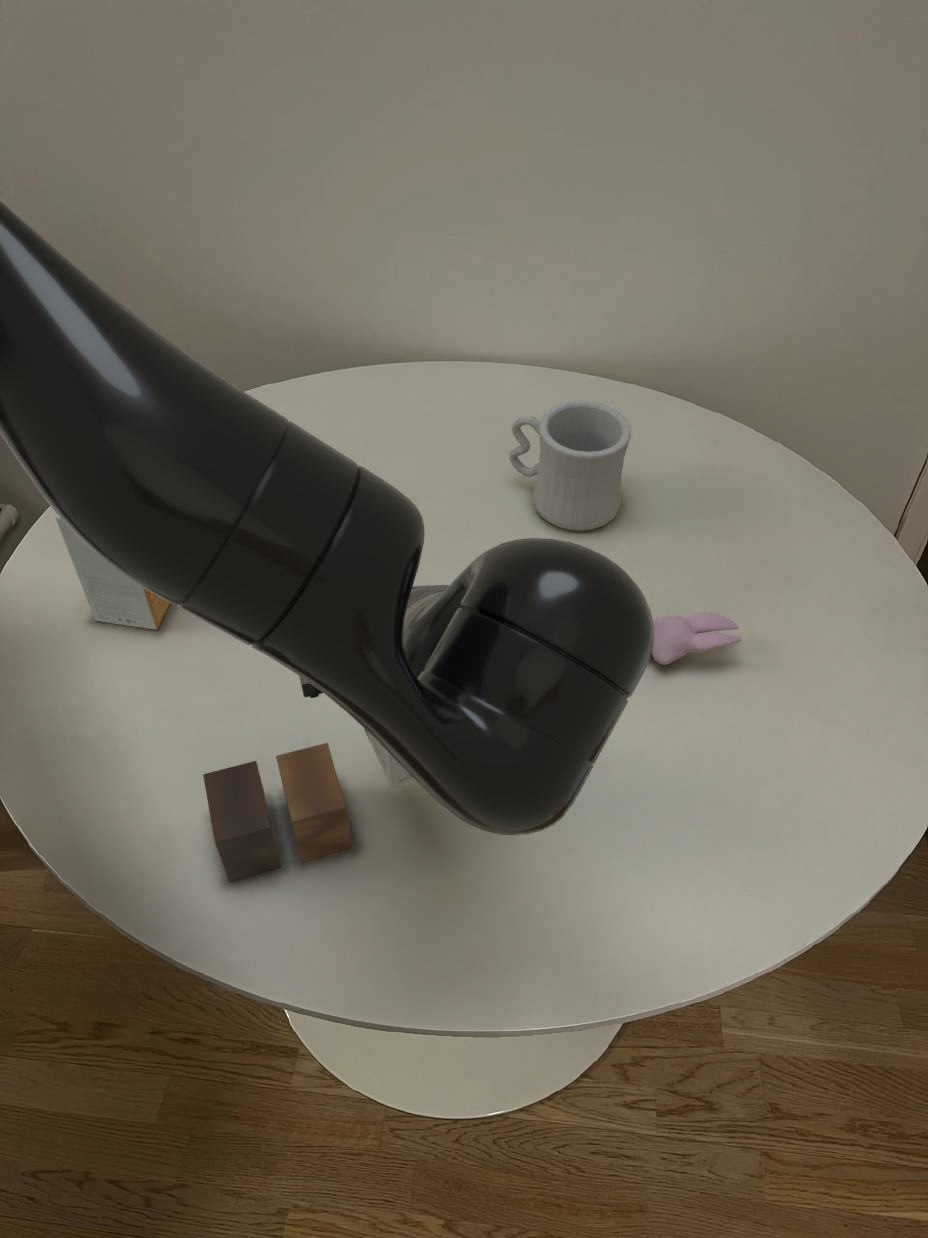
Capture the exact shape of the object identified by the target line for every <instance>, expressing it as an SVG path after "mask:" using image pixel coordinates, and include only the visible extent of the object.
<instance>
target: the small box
mask: <svg viewBox="0 0 928 1238" xmlns="http://www.w3.org/2000/svg"><path fill="white" fill-rule="evenodd" d="M55 520H56V523H57V526H58V528H59V531H60V533H61V536H62V539H63V541H64V544H65V546H66V549H67V551H68V555H69V556H70V559H71V561H72V564H73V567H74V569H75V572H76V575H77V578H78V579H79V582H80V585H81V588H82V590H83V593H84V596H85V598H86V601H87V603H88V605H89V609H90V611H91V614H92V616H93V619H94V621H96V622H100V623H101V622H102V623H107V624H114V625H120V626H128V627H135V628H142V629H148V630H159V628H160V625H161V623H162V620H163V618H164V616H165V614H166V612H167V611H168V609H169V607H170V605H171V603H170V602H168V601H166V600H164V599H162V598H160V597H159V596H157V595H155V594H153V593H151V592H149V591H148V590H146V589H145V588H143V587H141V586H140V585H138V584H137V583H135V582H133V581H132V580H130V579H129V578H127V577H126V576H124V575H122V574H121V573H120V572H119V571H117V570H116V569H115V568H113V567H112V566H111V565H109V564H108V563H107V562H106V561H104V560H103V559H102V558H100V557H99V556H98V555H97V554H96V553H95V552H94V551H93V550H91V549H90V548H89V547H88V546H87V545H86V544H85V543H84V542H83V541H82V540H81V539H80V538H79V537H78V536H77V535H76V534H75V533H74V532H73V531H72V530H71V529H70V528H69V527H68V526H67V525H66V523H65V522H64V521H63V520H62V519H61V518H60V517H59V515H58V514H57V513H56V515H55Z"/></svg>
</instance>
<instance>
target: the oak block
mask: <svg viewBox="0 0 928 1238" xmlns="http://www.w3.org/2000/svg"><path fill="white" fill-rule="evenodd" d="M330 749H331V748H330V747H329V743H328V742H325V743H320V744H317V745H313V746H309V747H306V748H302V749H301V748H300V749H297V750H293V751H289V752H286V753H281V754H278V755H277V754H276V757H275V759H276V761H277V767H278V772H279V776H280V780H281V784H282V789H283V793H284V797H285V802H286V805H287V806H286V807H287V810H288V815H289V819H290V823H291V827H292V831H293V836H294V839H295V844H296V848H297V853H298V856H299V857H298V858H299V861H300V862H301V863H303V862H306V861H310V860H314V859H317V858H321V857H325V856H328V855H331V854H335V853H340V852H343V851H345V850H350V849H352V841H351V834H350V833H351V832H350V827H349V820H348V814H347V806H346V803H345V799H344V796H343V792H342V789H341V788H342V787H341V786H340V785H341V784H340V782H339V779H338V778H339V777H338V775H337V774H338V773H337V771H336V767H335V764H334V760H333V757H332V753H331V750H330Z"/></svg>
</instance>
